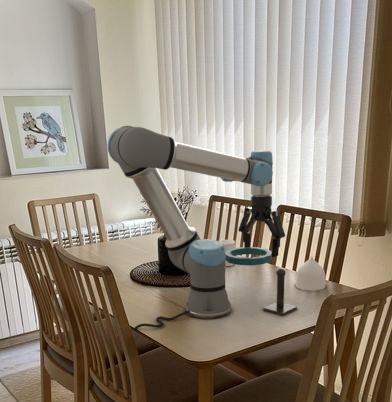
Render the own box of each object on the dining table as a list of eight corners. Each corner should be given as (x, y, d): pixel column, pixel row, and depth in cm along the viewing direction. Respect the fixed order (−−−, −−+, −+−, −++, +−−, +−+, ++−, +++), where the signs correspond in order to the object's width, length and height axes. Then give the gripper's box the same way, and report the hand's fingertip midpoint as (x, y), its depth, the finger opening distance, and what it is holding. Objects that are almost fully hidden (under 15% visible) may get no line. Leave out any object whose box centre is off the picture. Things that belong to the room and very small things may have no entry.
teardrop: (315, 280, 213) (317, 250, 209) (331, 288, 203) (332, 257, 199) (290, 283, 210) (291, 253, 206) (304, 292, 200) (305, 260, 196)
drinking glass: (238, 263, 239) (238, 240, 235) (229, 267, 232) (229, 244, 229) (223, 261, 243) (222, 238, 239) (214, 265, 236) (213, 242, 233)
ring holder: (283, 316, 179) (284, 273, 174) (263, 310, 184) (263, 269, 179) (296, 309, 184) (298, 267, 179) (277, 304, 189) (278, 263, 184)
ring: (252, 268, 187) (252, 261, 186) (216, 260, 198) (215, 253, 197) (280, 257, 198) (280, 251, 197) (245, 250, 209) (245, 244, 208)
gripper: (296, 196, 190) (294, 256, 198) (241, 191, 206) (241, 246, 214) (283, 199, 185) (282, 260, 192) (228, 193, 201) (229, 250, 208)
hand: (261, 253), depth 203 cm, fingers closed on ring, 12 cm apart
